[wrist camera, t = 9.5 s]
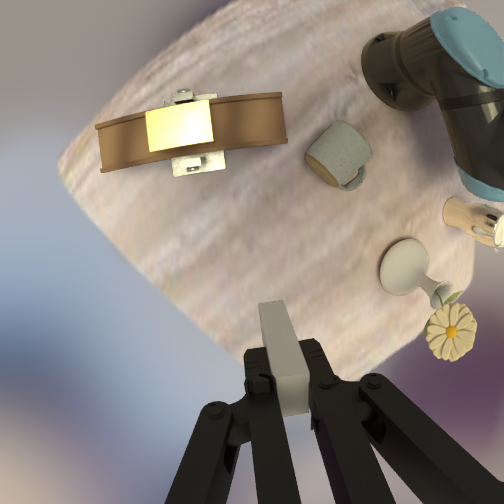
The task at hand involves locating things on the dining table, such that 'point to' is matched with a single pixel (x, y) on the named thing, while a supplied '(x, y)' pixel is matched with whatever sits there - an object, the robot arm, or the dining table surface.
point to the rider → (180, 126)
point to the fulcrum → (196, 161)
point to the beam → (226, 137)
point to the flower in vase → (440, 293)
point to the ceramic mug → (339, 155)
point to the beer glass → (476, 221)
